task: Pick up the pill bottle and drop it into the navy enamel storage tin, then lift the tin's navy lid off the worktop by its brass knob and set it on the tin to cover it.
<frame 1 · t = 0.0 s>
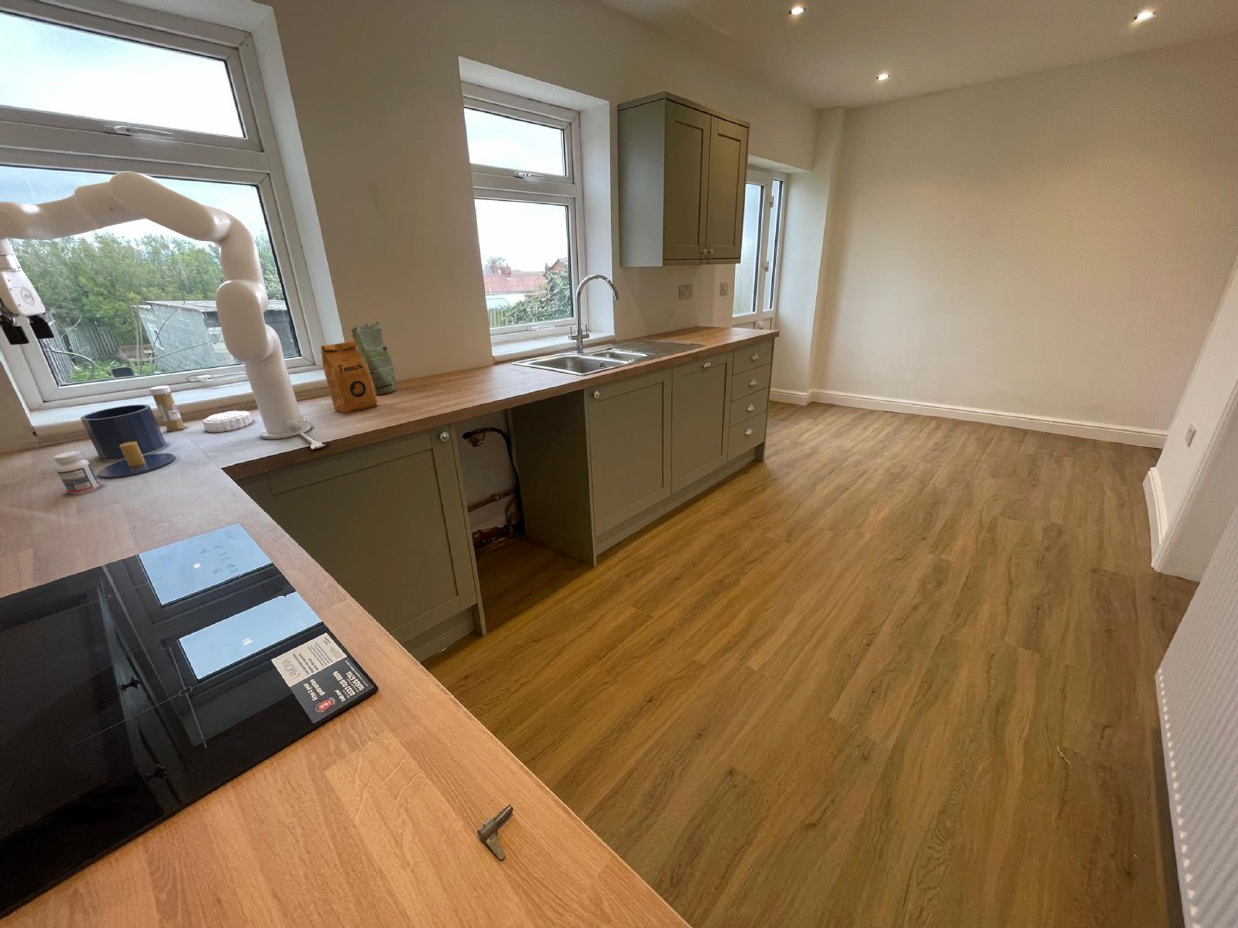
hand: (33, 341, 121), 31 cm above the worktop, tool pointing down, fingers open, 9 cm apart
sprinkles bottle: (176, 429, 155), on the worktop
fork: (311, 443, 139), on the worktop
coffee package: (357, 409, 168), on the worktop
pill bottle: (85, 490, 115), on the worktop
tin lid: (138, 466, 126), point 1 cm above the worktop
pouch: (383, 392, 188), on the worktop
tin: (134, 451, 138), on the worktop
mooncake: (230, 426, 156), on the worktop
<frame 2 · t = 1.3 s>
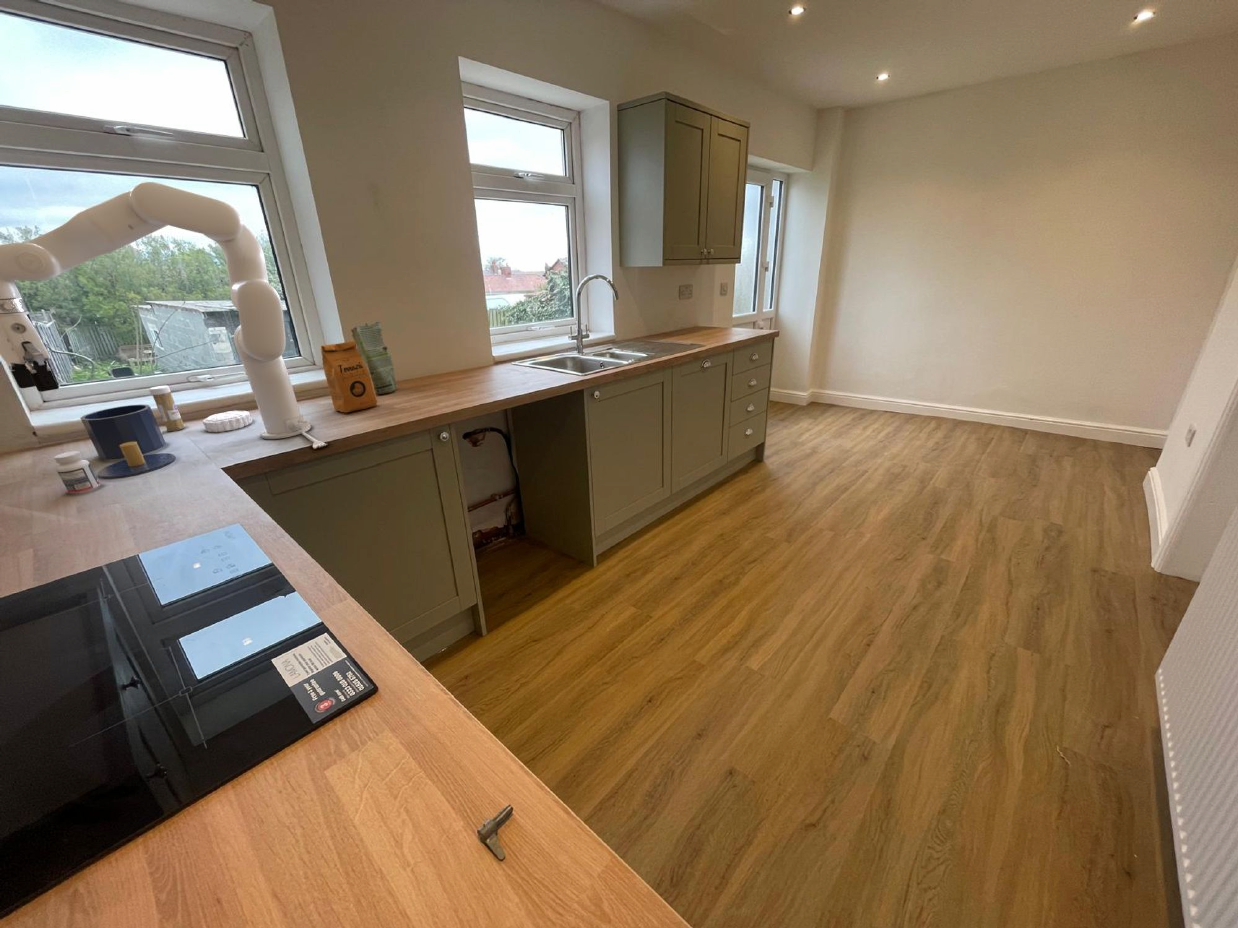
hand: (39, 388, 112), 23 cm above the worktop, tool pointing down, fingers open, 9 cm apart
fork: (313, 442, 139), on the worktop, touching arm
everything else where it was.
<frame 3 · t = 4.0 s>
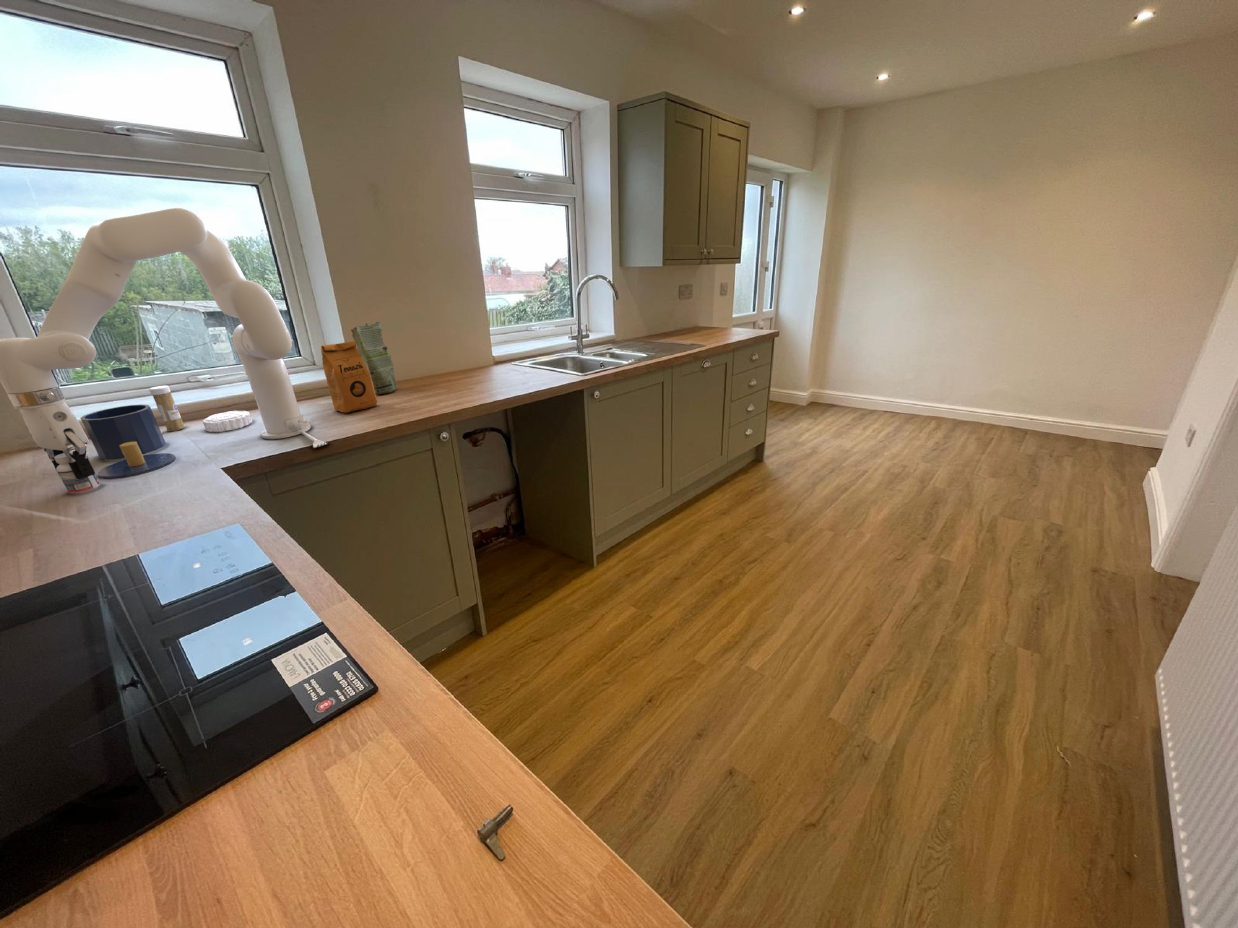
hand: (77, 474, 113), 4 cm above the worktop, tool pointing down, fingers closed on pill bottle, 5 cm apart
pill bottle: (85, 490, 115), on the worktop, touching gripper
everything else where it was.
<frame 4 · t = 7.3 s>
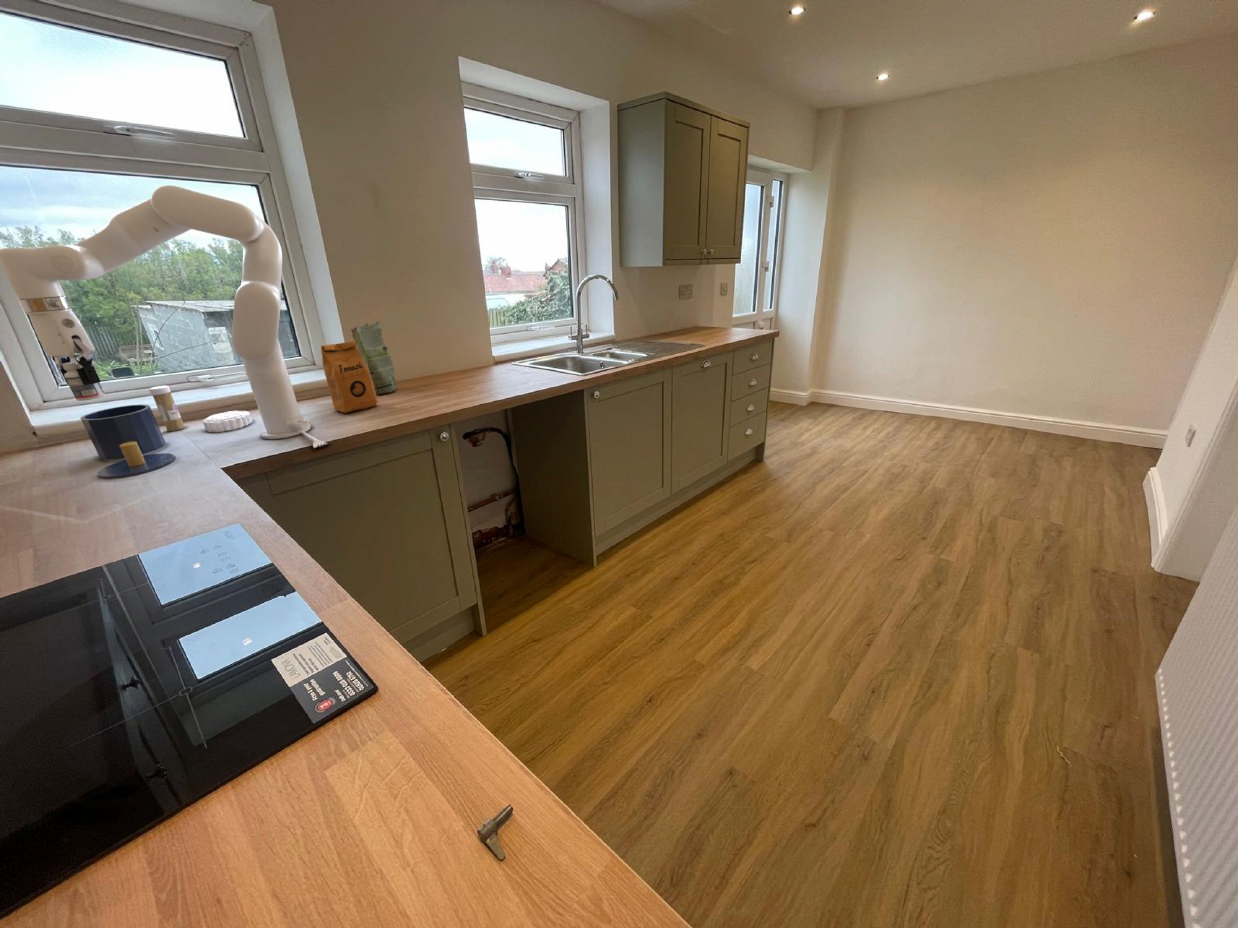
hand: (84, 382, 122), 21 cm above the worktop, tool pointing down, fingers closed on pill bottle, 5 cm apart
pill bottle: (91, 398, 124), point 17 cm above the worktop, touching gripper
everything else where it was.
when the fingers open (11 cm above the worktop, at t = 10.8 s): pill bottle drops 6 cm, resting on tin.
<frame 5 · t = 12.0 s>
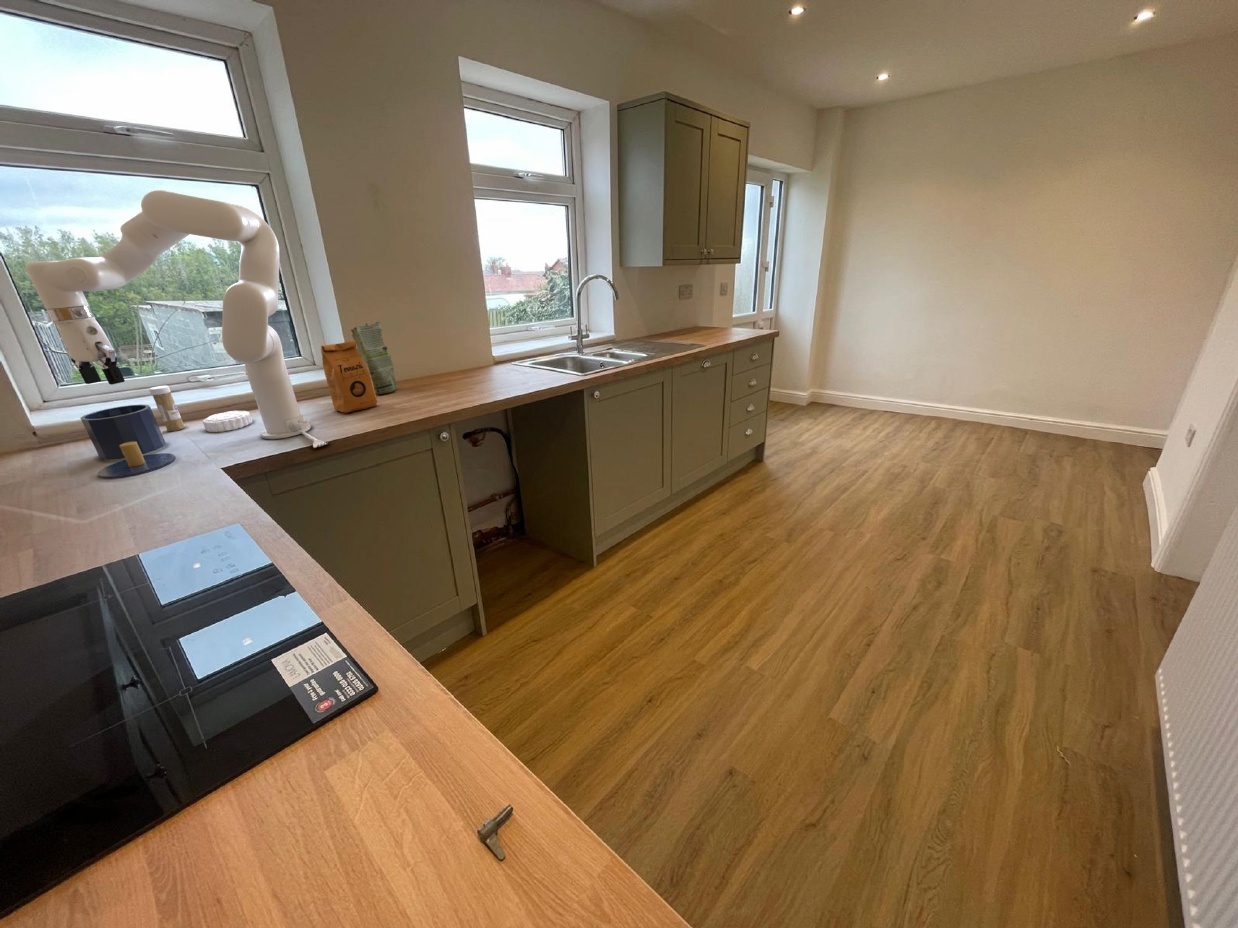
hand: (105, 382, 130), 19 cm above the worktop, tool pointing down, fingers open, 9 cm apart
pill bottle: (134, 450, 138), resting on tin
everything else where it was.
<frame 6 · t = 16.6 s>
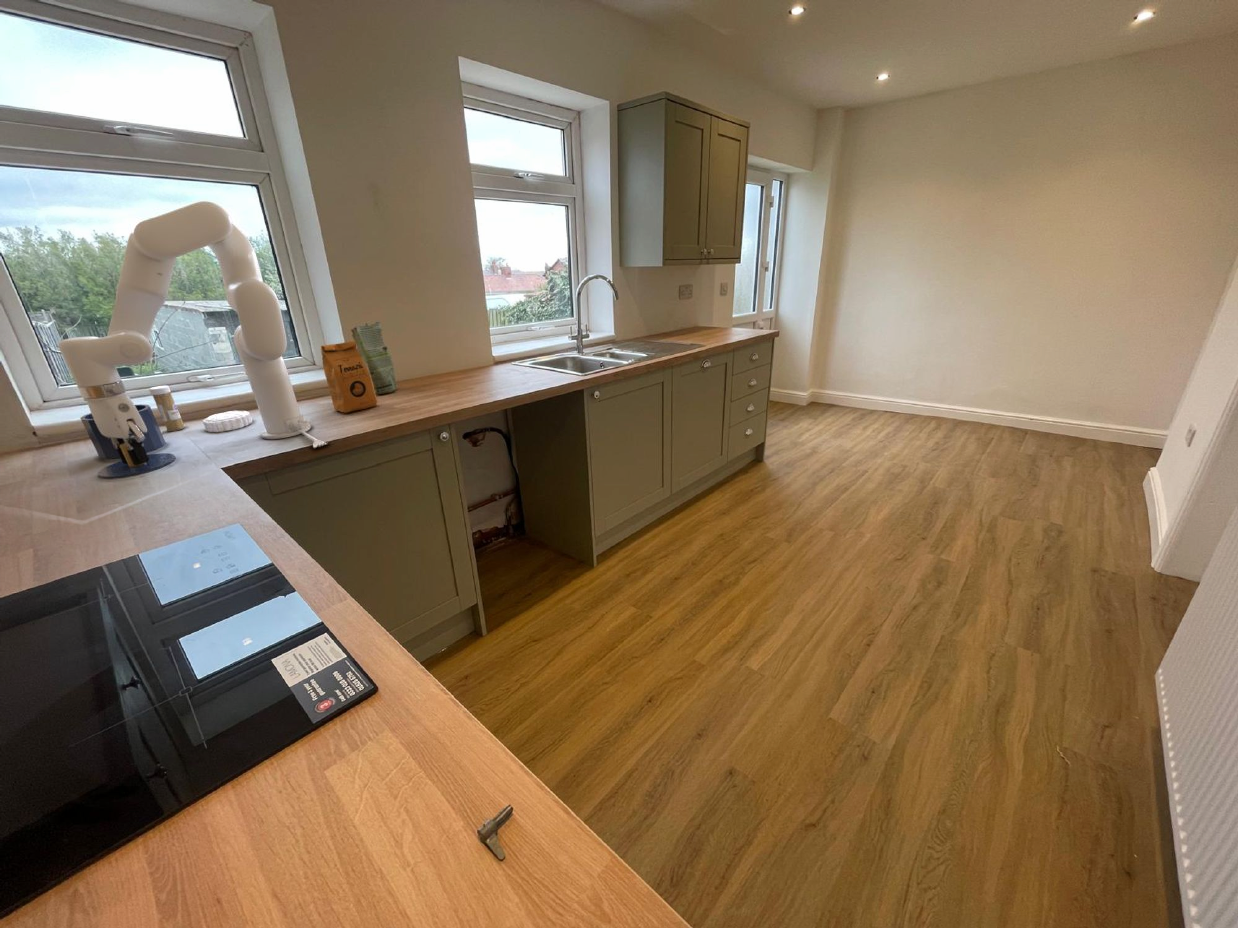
hand: (136, 461, 125), 2 cm above the worktop, tool pointing down, fingers closed on tin lid, 3 cm apart
tin lid: (138, 466, 126), point 1 cm above the worktop, touching gripper
everything else where it was.
when the fingers open (13 cm above the worktop, at t = 24.1 s): tin lid stays where it is, resting on tin.
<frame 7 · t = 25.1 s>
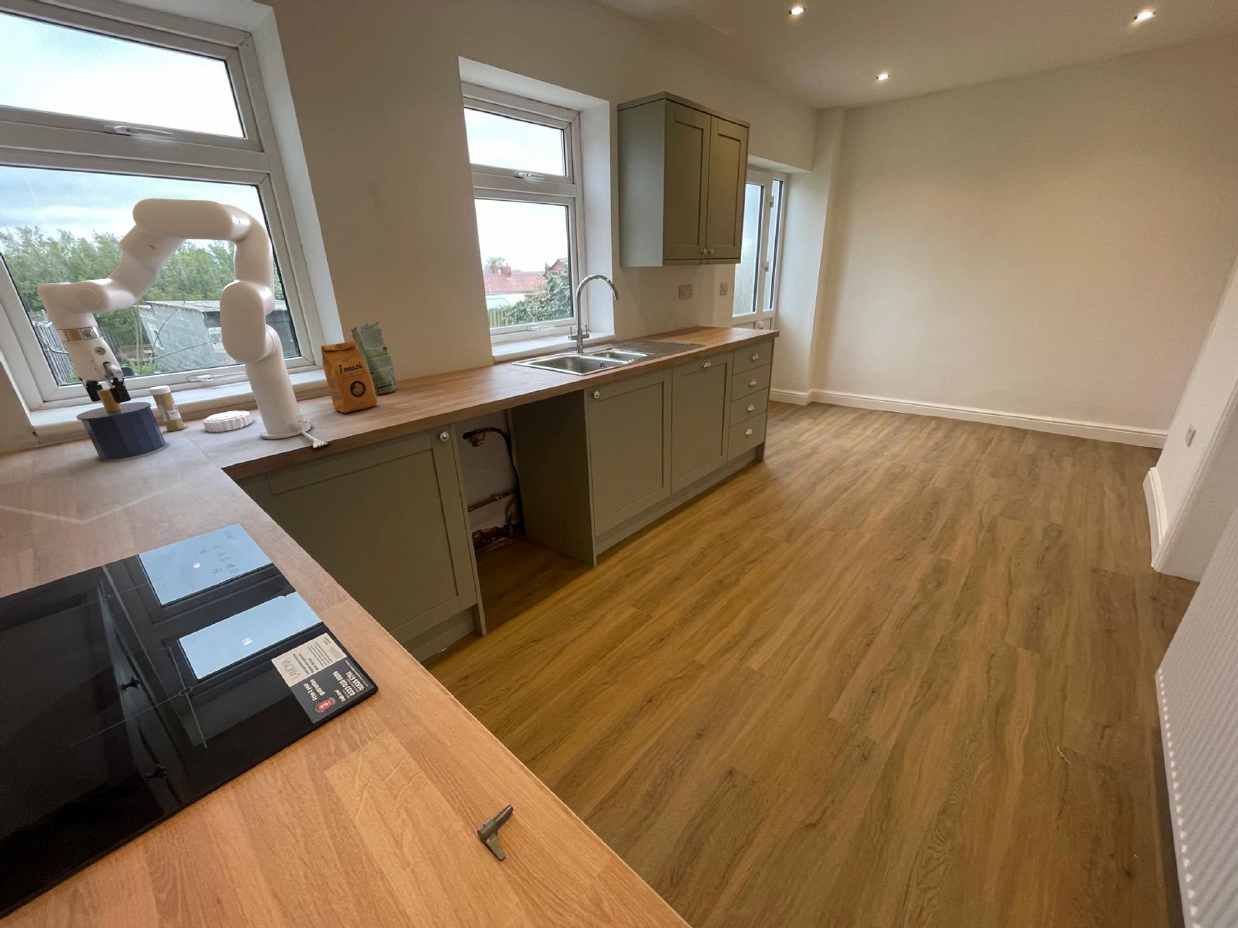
hand: (111, 401, 132), 14 cm above the worktop, tool pointing down, fingers open, 9 cm apart
tin lid: (115, 412, 133), point 11 cm above the worktop, touching tin
everything else where it was.
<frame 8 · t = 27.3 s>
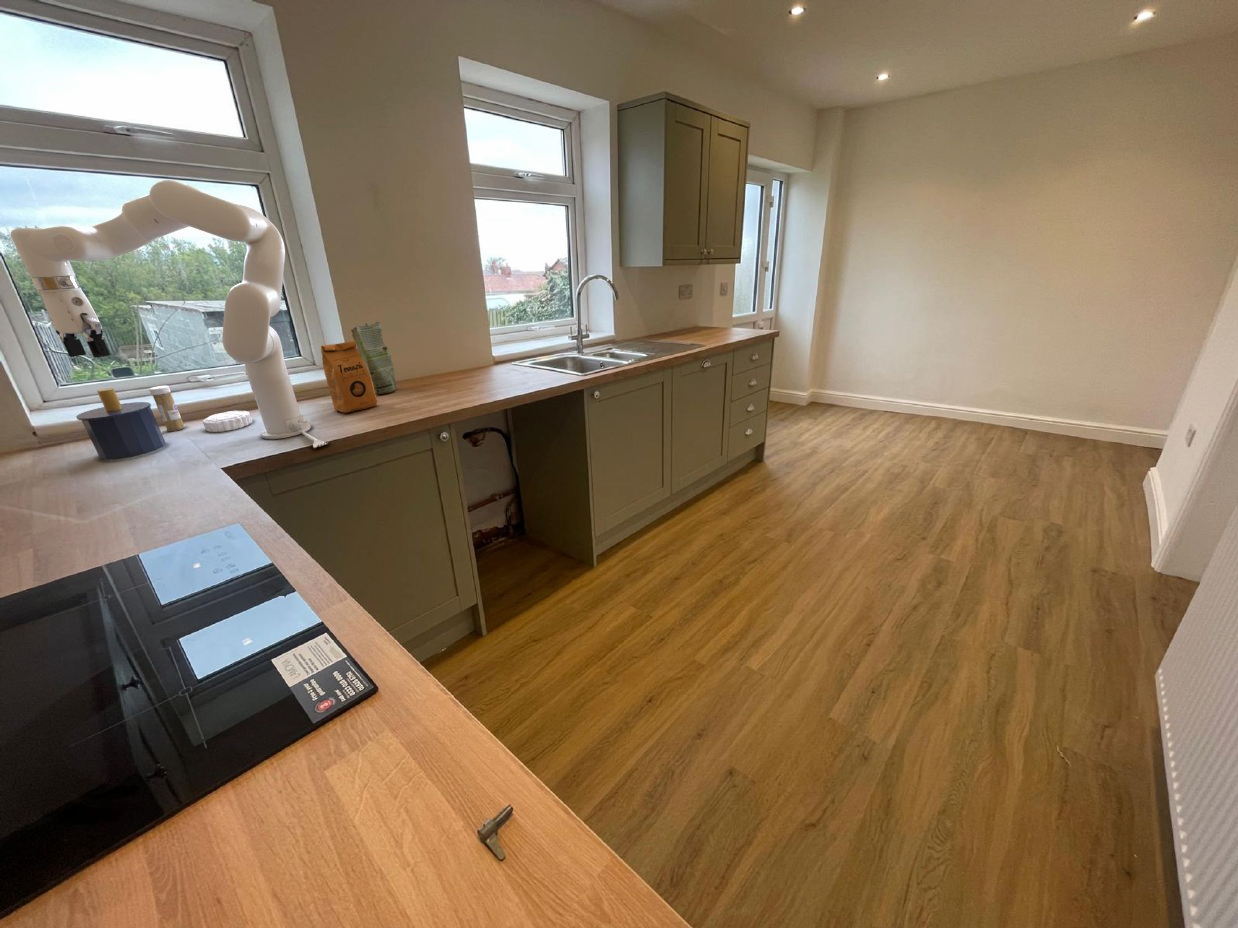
hand: (90, 356, 127), 26 cm above the worktop, tool pointing down, fingers open, 9 cm apart
nothing on the worktop moved.
at the end: pill bottle inside the target area in the tin (0.2 cm from its centre), point 0.3 cm above the tin's base; tin lid 0.1 cm off-centre in the tin, point 11.5 cm above the tin's base; tin lid tilted 0° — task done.
